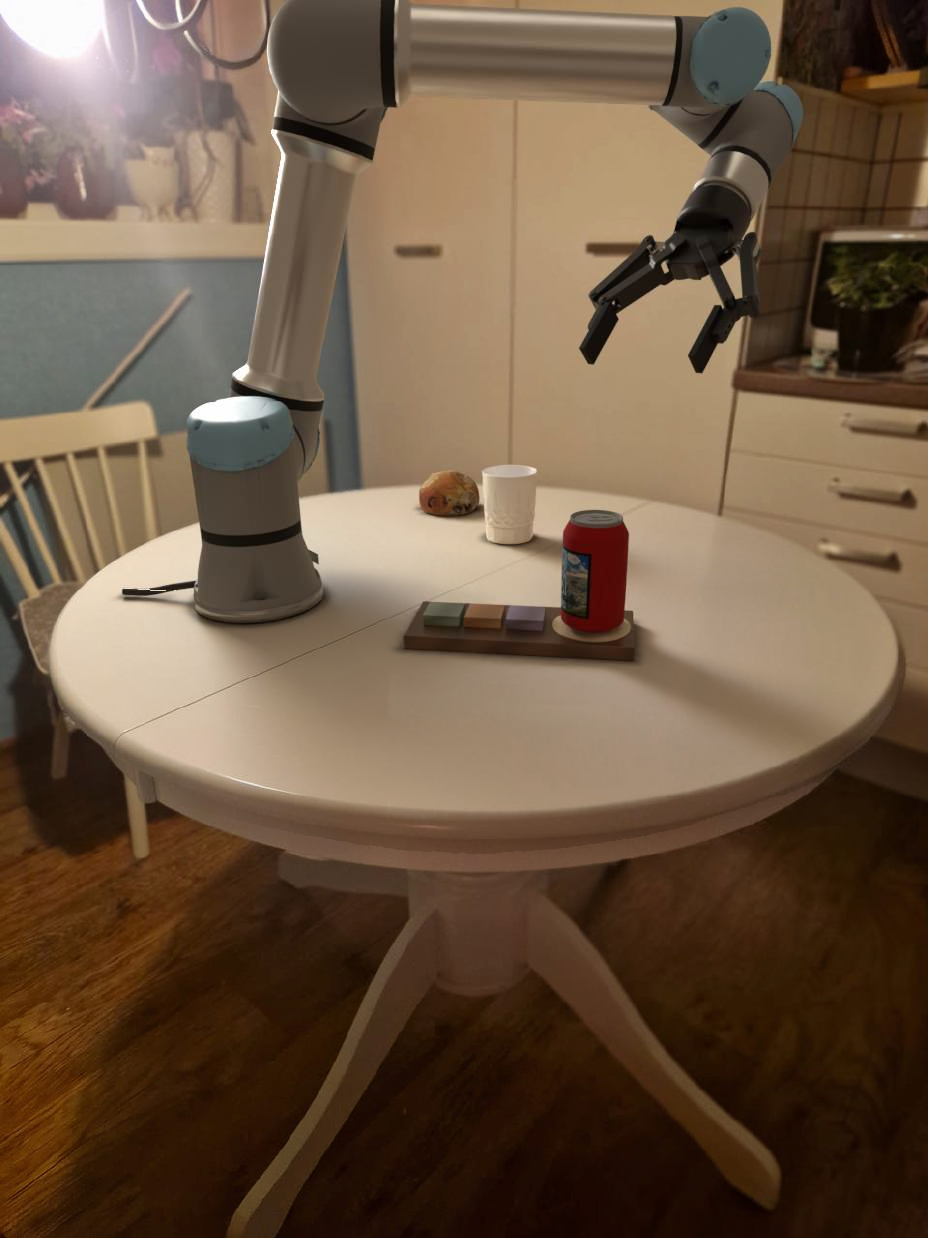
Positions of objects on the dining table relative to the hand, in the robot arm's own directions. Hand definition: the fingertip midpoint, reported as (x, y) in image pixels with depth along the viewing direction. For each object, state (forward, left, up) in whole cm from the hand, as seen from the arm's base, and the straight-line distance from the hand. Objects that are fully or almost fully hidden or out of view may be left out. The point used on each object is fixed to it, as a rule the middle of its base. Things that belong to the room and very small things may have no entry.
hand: (637, 360), depth 92 cm
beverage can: (+1, -12, -26) cm, 29 cm away
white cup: (-23, +16, -28) cm, 40 cm away
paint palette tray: (-6, -15, -28) cm, 32 cm away
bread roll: (-39, +26, -28) cm, 55 cm away
